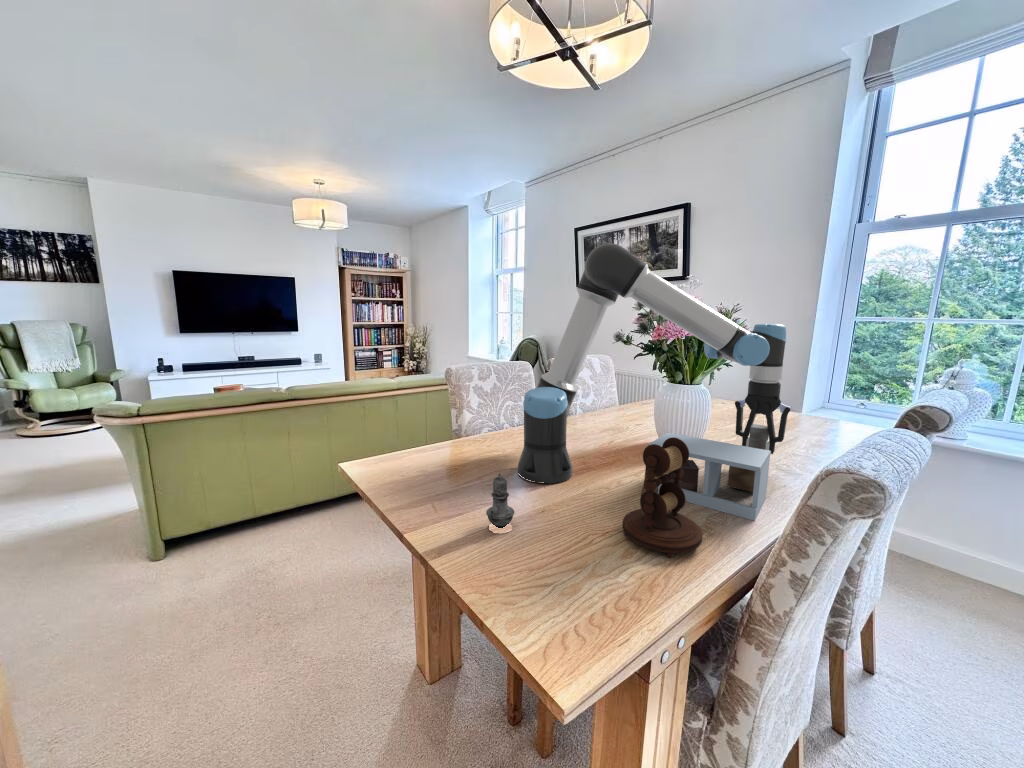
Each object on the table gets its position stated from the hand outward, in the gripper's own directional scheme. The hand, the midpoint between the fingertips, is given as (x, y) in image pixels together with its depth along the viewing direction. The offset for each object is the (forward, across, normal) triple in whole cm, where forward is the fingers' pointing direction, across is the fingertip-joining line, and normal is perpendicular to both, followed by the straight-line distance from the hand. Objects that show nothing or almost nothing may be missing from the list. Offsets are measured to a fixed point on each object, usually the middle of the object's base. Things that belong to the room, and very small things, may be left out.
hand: (756, 461), depth 115 cm
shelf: (+2, +6, +27) cm, 27 cm away
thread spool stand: (+2, +7, +53) cm, 53 cm away
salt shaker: (+2, +34, +70) cm, 78 cm away
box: (+3, +12, +28) cm, 30 cm away
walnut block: (+2, 0, +9) cm, 9 cm away
